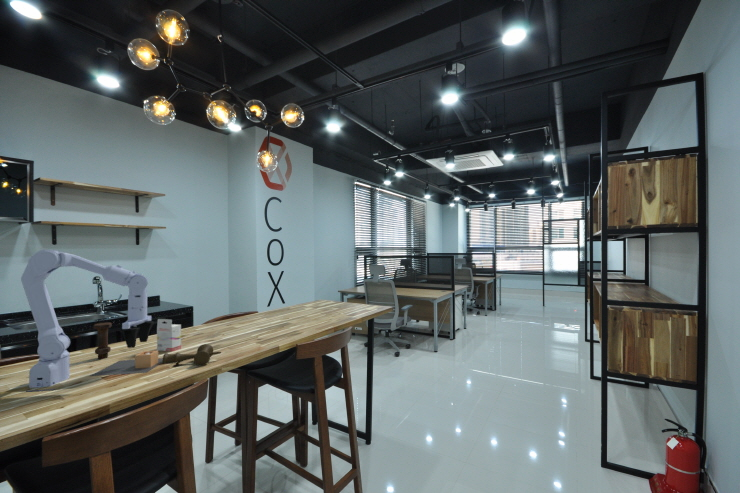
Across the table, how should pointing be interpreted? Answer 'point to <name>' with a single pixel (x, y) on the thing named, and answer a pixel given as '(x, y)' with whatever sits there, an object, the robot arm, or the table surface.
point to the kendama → (192, 356)
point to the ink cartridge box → (168, 336)
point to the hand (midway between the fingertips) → (137, 344)
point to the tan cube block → (146, 359)
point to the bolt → (102, 340)
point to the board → (125, 368)
